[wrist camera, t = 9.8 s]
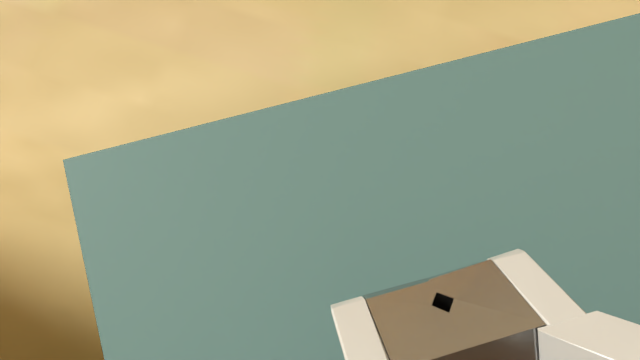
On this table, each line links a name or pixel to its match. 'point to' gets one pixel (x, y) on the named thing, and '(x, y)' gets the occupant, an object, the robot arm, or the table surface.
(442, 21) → the table surface
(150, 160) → the grey-green flat slab
